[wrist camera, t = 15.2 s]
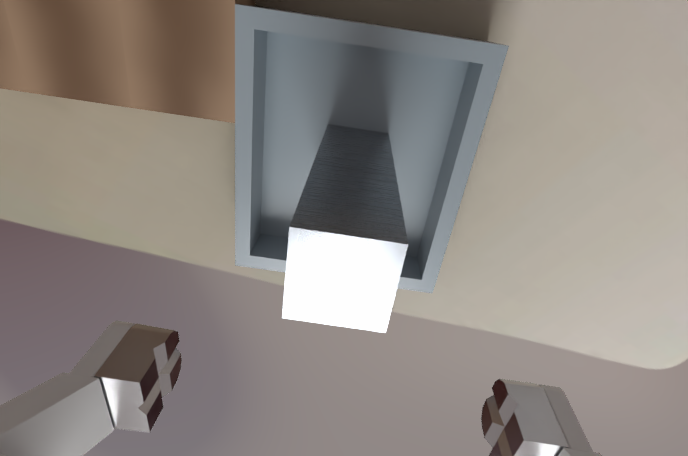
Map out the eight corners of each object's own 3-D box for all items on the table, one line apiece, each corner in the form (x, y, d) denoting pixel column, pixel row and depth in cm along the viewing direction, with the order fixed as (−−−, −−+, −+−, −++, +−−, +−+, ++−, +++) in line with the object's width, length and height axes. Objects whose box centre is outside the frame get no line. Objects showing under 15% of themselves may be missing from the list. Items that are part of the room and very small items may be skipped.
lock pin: (388, 133, 25) (408, 244, 13) (377, 189, 27) (385, 333, 15) (327, 123, 25) (289, 226, 13) (321, 181, 27) (281, 317, 15)
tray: (487, 41, 23) (508, 46, 20) (425, 261, 31) (432, 293, 27) (255, 5, 23) (234, 4, 20) (250, 236, 31) (235, 265, 27)
